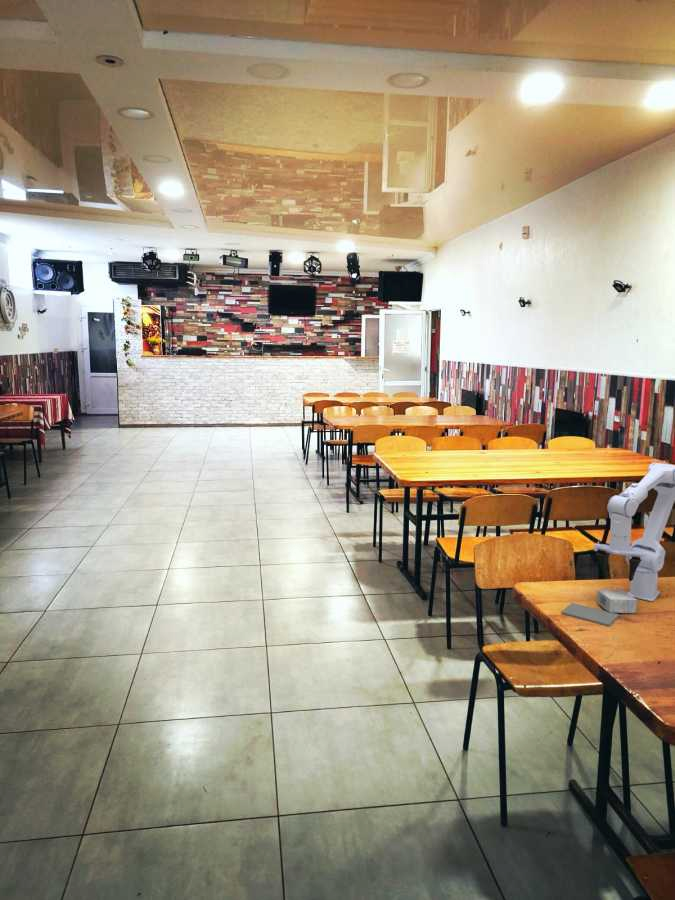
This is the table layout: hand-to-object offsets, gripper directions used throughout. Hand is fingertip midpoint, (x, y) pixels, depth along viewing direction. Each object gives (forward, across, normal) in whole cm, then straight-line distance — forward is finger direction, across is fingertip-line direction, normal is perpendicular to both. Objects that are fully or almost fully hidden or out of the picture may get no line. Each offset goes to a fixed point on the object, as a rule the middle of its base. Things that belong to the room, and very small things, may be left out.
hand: (617, 577), depth 185 cm
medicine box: (+7, -2, -5) cm, 9 cm away
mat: (+9, -4, -12) cm, 16 cm away
